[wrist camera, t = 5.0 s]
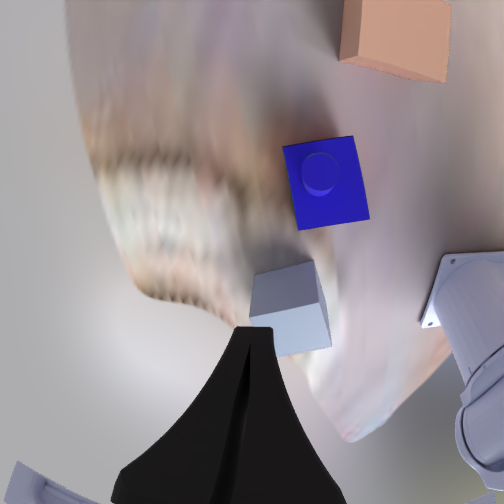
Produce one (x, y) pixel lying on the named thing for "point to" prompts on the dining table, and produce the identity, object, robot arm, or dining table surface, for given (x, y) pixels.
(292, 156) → the toy building block
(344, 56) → the terracotta block
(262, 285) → the slate blue block
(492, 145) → the dining table surface
